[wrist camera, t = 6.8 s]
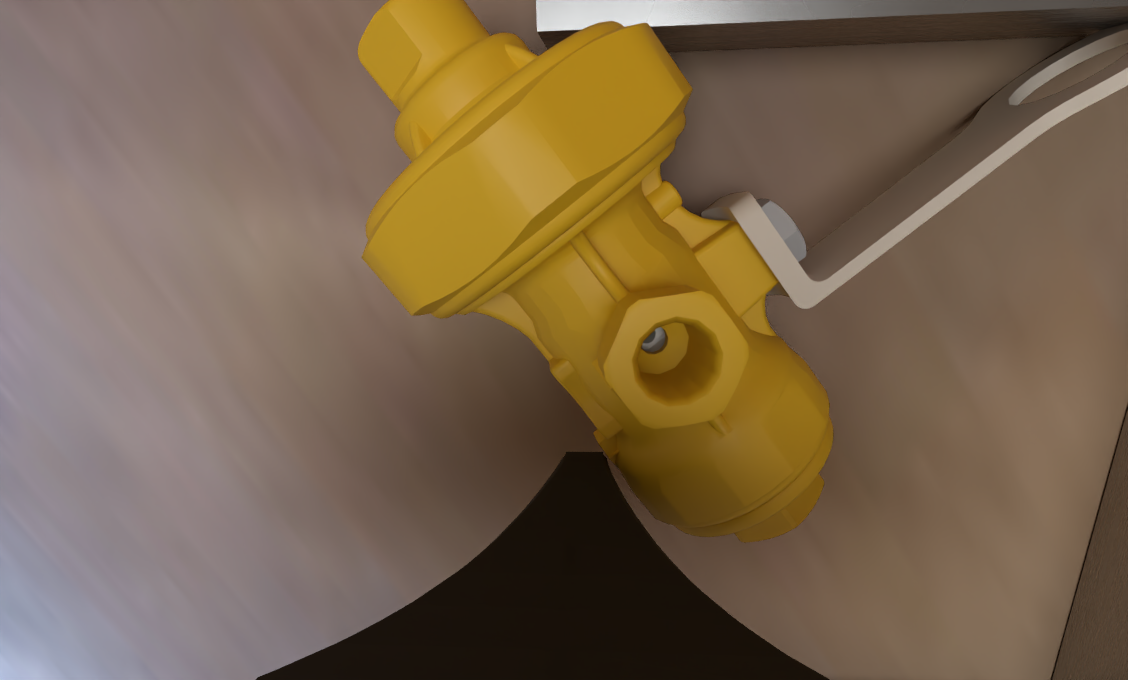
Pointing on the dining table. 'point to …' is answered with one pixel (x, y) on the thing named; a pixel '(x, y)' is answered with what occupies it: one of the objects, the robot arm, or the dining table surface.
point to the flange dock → (898, 15)
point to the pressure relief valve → (643, 246)
